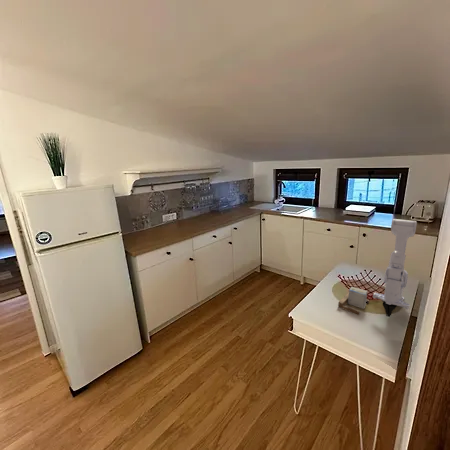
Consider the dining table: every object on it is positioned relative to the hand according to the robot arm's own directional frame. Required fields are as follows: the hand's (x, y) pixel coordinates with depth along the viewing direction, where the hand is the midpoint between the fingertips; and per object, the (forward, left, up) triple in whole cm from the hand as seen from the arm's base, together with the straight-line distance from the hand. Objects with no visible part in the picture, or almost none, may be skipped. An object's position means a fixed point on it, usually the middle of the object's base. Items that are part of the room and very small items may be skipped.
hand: (388, 315), depth 121 cm
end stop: (0, -16, -1) cm, 16 cm away
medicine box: (-1, -15, -2) cm, 15 cm away
